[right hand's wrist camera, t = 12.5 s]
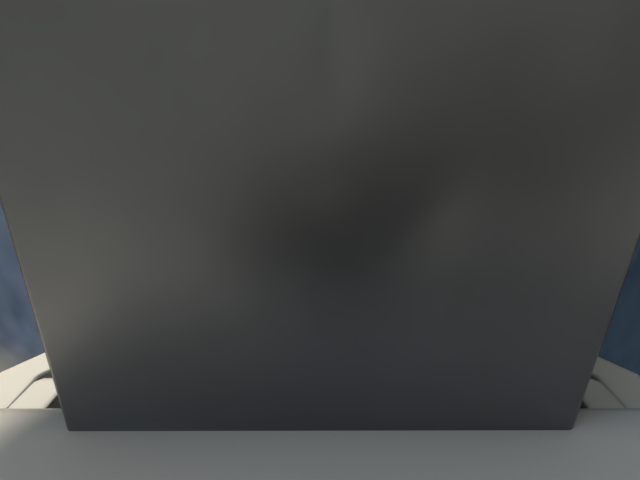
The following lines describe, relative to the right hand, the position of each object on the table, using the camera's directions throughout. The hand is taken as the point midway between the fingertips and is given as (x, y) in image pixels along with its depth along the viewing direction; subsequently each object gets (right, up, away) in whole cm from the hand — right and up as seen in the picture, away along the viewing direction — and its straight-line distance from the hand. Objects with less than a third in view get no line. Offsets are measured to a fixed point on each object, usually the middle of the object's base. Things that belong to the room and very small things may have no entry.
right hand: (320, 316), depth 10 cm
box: (0, +8, +3) cm, 9 cm away
